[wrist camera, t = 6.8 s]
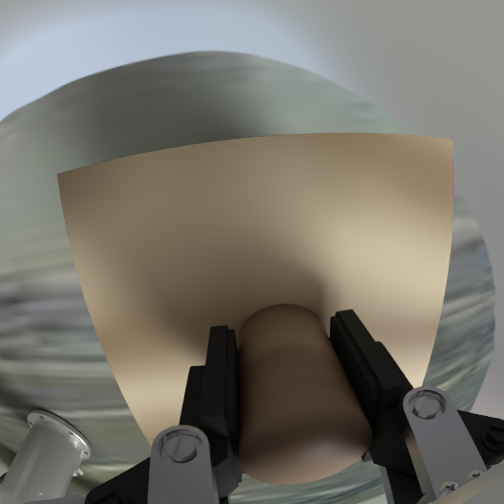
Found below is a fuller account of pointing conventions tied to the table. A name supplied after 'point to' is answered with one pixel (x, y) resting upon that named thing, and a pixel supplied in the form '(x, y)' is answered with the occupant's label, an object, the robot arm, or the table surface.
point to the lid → (265, 277)
